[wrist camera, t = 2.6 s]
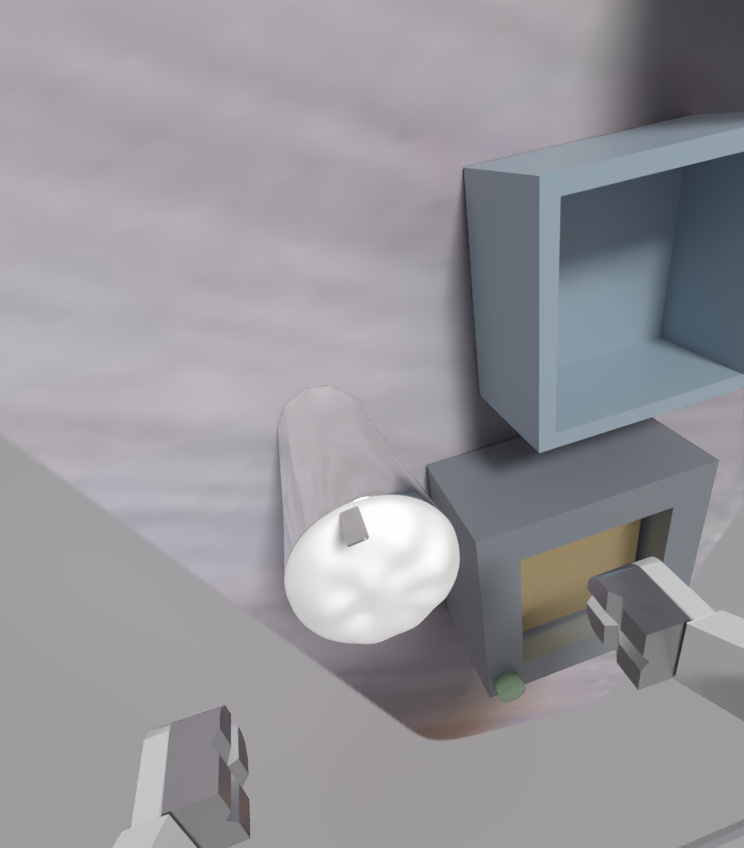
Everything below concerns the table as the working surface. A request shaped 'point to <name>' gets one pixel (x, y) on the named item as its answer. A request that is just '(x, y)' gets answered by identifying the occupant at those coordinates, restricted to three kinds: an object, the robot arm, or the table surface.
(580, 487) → the square frame
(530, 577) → the plain tan rectangular plate
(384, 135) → the table surface
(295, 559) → the milkshake
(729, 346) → the bin
